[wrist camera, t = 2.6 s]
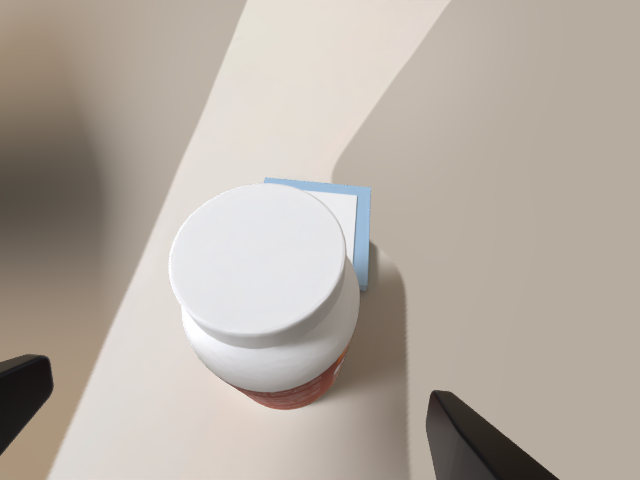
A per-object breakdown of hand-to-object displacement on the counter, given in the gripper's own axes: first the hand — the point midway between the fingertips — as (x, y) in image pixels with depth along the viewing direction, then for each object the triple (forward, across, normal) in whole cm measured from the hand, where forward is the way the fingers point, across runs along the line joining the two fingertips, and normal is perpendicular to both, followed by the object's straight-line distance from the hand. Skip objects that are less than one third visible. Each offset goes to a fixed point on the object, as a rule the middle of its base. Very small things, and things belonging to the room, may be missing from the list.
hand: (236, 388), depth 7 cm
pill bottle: (+10, 0, +5) cm, 11 cm away
